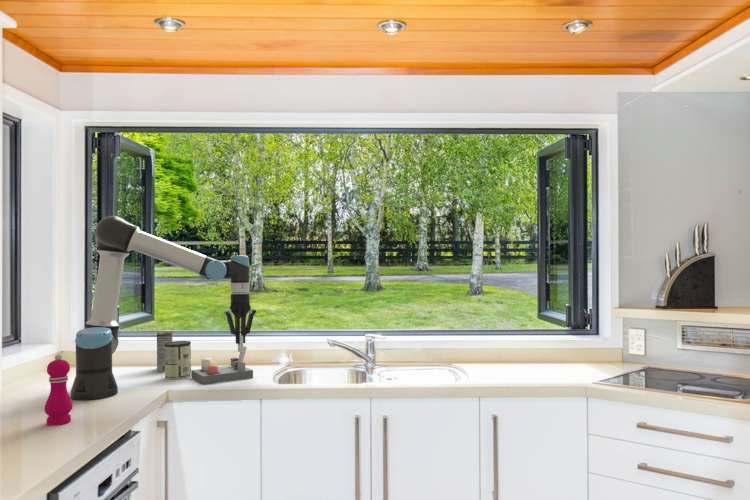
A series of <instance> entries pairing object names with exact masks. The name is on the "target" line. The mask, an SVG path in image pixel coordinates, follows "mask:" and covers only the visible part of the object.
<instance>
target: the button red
mask: <svg viewBox="0 0 750 500" xmlns="http://www.w3.org/2000/svg"><path fill="white" fill-rule="evenodd" d="M218 367H219V365H218V364H212V365H209V366H208V375H212V374H218Z"/></svg>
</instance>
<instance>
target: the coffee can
mask: <svg viewBox="0 0 750 500" xmlns="http://www.w3.org/2000/svg"><path fill="white" fill-rule="evenodd" d="M191 344H192V342H191V341H189V340H175V341H174V340H173V342H167V343H164V345H165V371H164V378H165V379H166V380H182V379H183V378H184V379H187V378H190V377H191V370H192V367H191V366H192V361H191V358H192V357H191V354H192V353H191V352H192V351H191Z"/></svg>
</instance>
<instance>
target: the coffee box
mask: <svg viewBox="0 0 750 500" xmlns="http://www.w3.org/2000/svg"><path fill="white" fill-rule="evenodd" d="M173 341H174V340H173V331H157V333H156V371H157V373H158V372H165V345H164V343H167V342H173Z"/></svg>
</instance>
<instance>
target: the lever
mask: <svg viewBox="0 0 750 500" xmlns="http://www.w3.org/2000/svg"><path fill="white" fill-rule="evenodd" d="M247 348H248V347H247V346H244V345H243V352H239V355H238V358H239V359H238V363H244V359H245V355H246V352H247ZM236 367H237V364H236Z"/></svg>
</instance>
